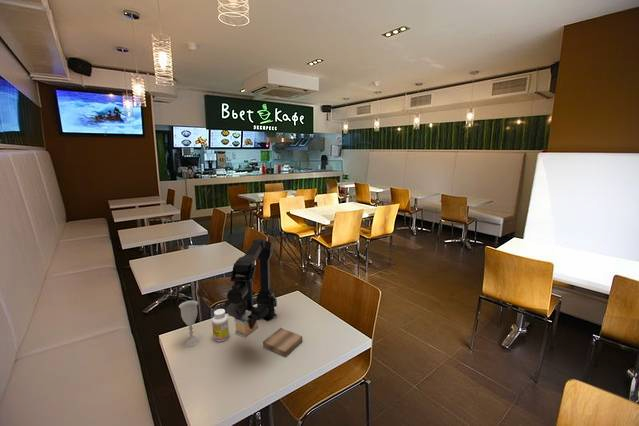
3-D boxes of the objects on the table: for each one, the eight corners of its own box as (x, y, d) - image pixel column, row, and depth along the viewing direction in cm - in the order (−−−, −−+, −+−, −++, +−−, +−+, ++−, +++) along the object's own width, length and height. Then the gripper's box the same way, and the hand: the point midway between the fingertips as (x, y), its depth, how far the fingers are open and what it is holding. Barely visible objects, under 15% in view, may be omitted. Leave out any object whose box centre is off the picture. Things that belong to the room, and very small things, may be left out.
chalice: (183, 349, 123) (179, 310, 119) (182, 340, 129) (178, 302, 125) (201, 344, 126) (198, 306, 122) (200, 335, 132) (197, 299, 128)
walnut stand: (263, 347, 125) (262, 341, 125) (280, 332, 135) (280, 327, 135) (285, 357, 119) (285, 351, 119) (302, 341, 129) (302, 336, 129)
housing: (235, 334, 117) (234, 318, 116) (249, 324, 124) (248, 309, 123) (244, 338, 115) (243, 322, 114) (258, 328, 122) (257, 312, 120)
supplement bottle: (210, 337, 131) (208, 311, 128) (224, 331, 136) (222, 305, 133) (218, 344, 126) (216, 317, 124) (231, 337, 131) (230, 311, 128)
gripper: (212, 293, 114) (215, 329, 117) (248, 306, 105) (250, 345, 108) (234, 282, 123) (235, 316, 126) (268, 293, 114) (269, 329, 117)
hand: (246, 326), depth 119 cm, fingers closed on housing, 5 cm apart
